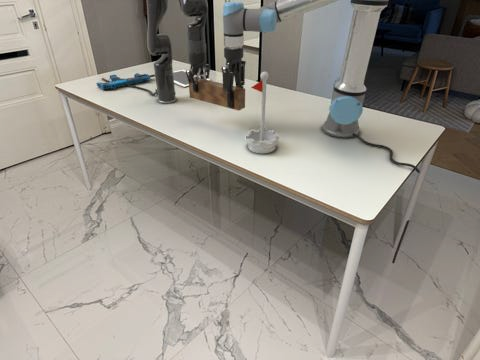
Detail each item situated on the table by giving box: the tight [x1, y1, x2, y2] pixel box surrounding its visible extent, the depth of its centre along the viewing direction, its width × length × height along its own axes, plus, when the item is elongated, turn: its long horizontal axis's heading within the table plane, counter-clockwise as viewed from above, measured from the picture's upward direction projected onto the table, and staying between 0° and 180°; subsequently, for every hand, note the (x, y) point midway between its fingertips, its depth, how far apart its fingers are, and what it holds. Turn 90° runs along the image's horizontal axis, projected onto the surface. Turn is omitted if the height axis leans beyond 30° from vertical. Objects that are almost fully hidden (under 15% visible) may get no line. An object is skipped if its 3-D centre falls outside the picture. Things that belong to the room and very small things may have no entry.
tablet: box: [173, 69, 212, 88], centre depth 216 cm, size 32×20×1 cm, turn 41°
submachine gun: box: [95, 72, 155, 91], centre depth 209 cm, size 34×4×25 cm
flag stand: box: [245, 71, 280, 154], centre depth 128 cm, size 13×13×30 cm
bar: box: [188, 78, 246, 111], centre depth 146 cm, size 27×4×8 cm, turn 55°
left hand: (199, 90), depth 151 cm, fingers closed on bar, 4 cm apart
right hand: (234, 105), depth 143 cm, fingers closed on bar, 4 cm apart
